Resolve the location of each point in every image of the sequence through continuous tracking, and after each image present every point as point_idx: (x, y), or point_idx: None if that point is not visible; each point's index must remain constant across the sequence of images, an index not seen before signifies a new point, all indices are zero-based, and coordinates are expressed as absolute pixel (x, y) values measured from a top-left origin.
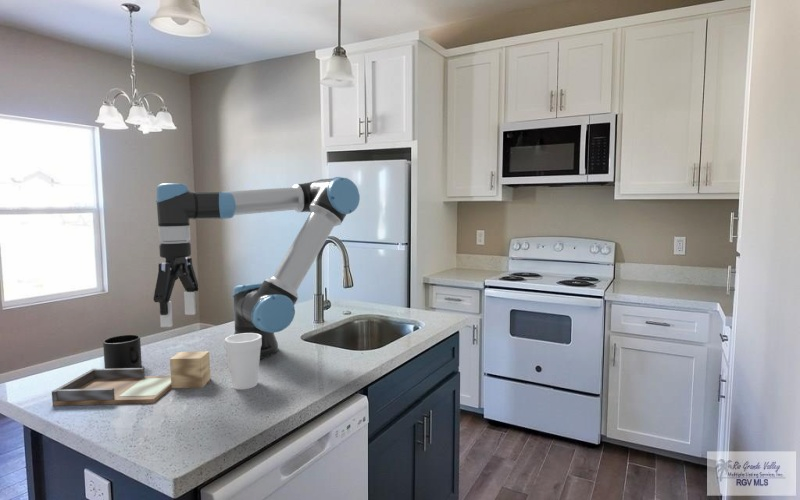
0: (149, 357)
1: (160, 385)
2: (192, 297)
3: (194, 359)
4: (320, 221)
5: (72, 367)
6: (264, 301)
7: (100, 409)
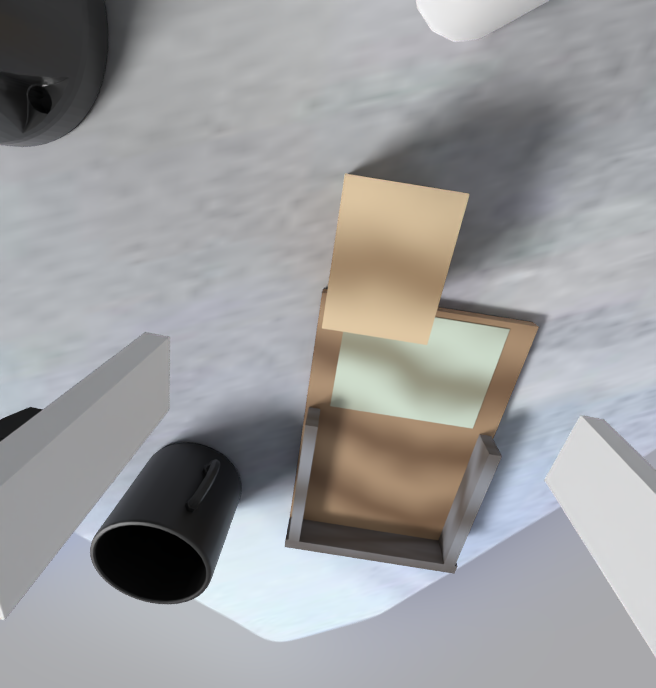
0: None
1: None
2: (51, 458)
3: (458, 228)
4: None
5: None
6: None
7: (517, 443)
